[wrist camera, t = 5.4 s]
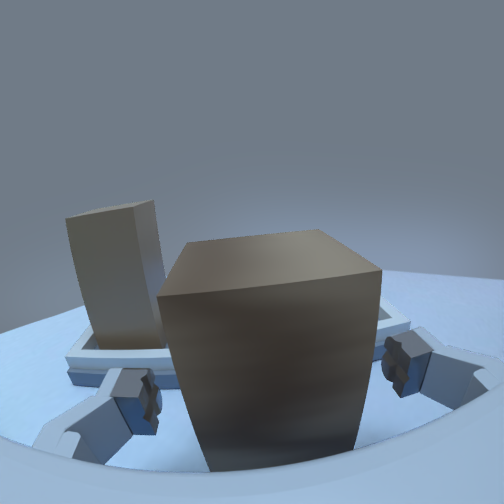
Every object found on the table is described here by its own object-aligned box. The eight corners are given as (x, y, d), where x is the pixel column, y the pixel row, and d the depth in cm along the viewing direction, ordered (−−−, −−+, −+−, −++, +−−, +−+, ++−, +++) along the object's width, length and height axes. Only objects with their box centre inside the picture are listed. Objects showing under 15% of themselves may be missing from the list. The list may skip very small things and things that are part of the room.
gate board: (349, 289, 29) (348, 179, 26) (409, 350, 17) (424, 186, 14) (120, 313, 28) (98, 206, 25) (73, 384, 16) (22, 230, 13)
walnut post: (315, 414, 14) (318, 229, 11) (341, 486, 9) (382, 270, 6) (222, 426, 13) (187, 242, 11) (224, 504, 8) (156, 296, 6)
